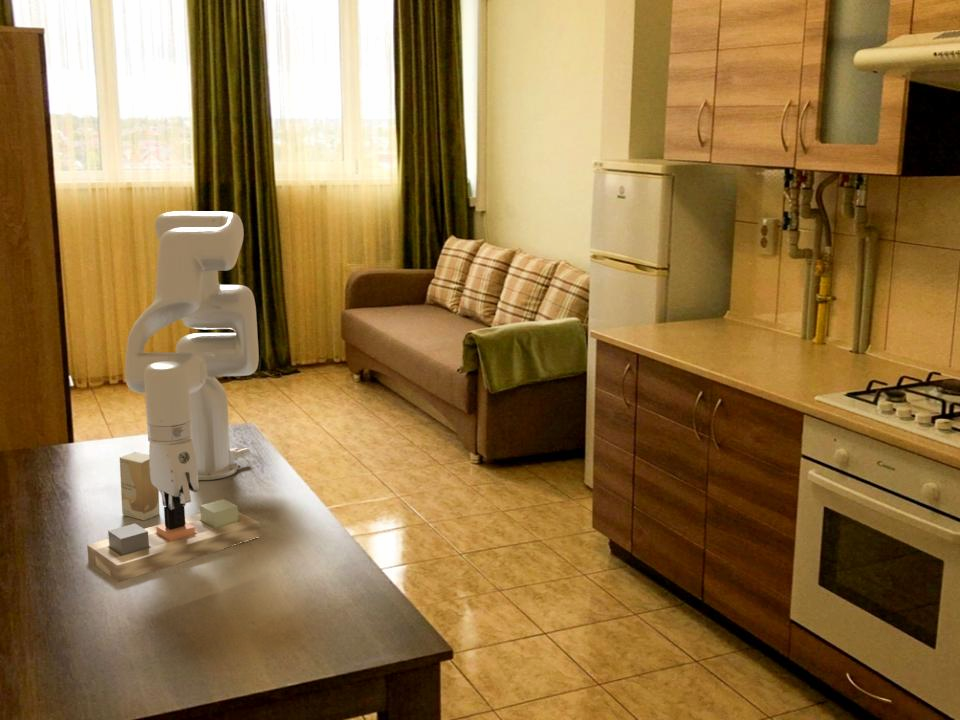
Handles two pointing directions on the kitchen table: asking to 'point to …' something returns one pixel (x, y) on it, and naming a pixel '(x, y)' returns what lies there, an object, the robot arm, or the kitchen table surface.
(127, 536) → the charcoal key
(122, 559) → the board
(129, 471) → the skincare box
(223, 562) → the kitchen table surface
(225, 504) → the sage key
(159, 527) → the terracotta key
